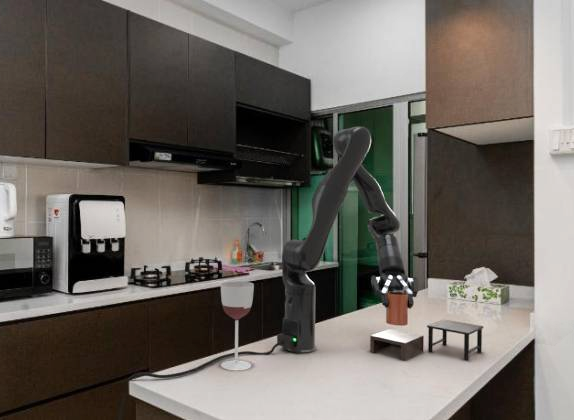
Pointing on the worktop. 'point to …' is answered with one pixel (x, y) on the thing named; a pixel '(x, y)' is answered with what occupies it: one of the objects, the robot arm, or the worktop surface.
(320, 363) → the worktop surface
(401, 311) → the cup
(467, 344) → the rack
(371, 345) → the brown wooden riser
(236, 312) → the wineglass
